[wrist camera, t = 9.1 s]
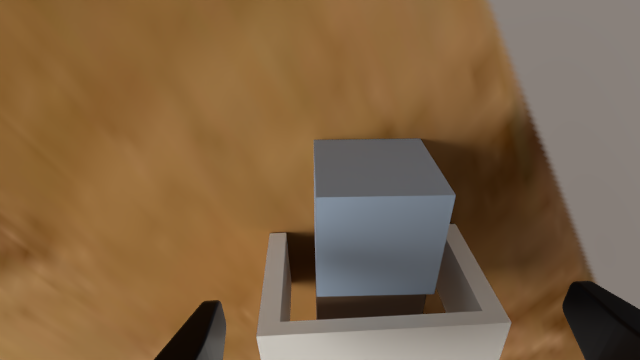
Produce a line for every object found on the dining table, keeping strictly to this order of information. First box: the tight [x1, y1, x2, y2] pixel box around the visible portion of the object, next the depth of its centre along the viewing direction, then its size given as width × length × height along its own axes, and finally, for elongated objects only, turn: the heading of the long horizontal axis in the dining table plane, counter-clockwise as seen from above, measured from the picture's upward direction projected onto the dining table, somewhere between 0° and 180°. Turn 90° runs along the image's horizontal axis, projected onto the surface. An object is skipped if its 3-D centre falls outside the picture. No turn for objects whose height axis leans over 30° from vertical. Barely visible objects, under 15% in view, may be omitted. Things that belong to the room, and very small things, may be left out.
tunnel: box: [256, 224, 511, 360], centre depth 15 cm, size 3×8×5 cm, turn 92°
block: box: [314, 139, 456, 297], centre depth 13 cm, size 4×4×4 cm
